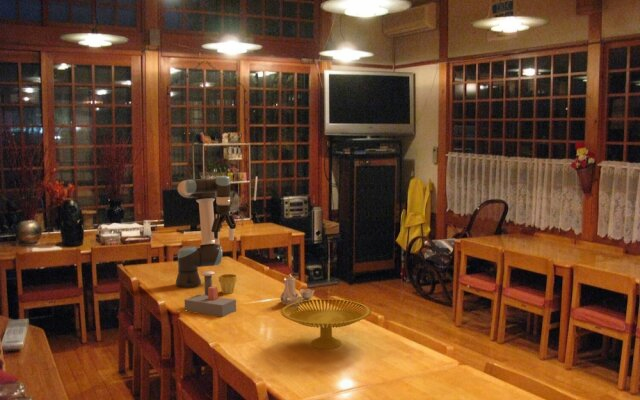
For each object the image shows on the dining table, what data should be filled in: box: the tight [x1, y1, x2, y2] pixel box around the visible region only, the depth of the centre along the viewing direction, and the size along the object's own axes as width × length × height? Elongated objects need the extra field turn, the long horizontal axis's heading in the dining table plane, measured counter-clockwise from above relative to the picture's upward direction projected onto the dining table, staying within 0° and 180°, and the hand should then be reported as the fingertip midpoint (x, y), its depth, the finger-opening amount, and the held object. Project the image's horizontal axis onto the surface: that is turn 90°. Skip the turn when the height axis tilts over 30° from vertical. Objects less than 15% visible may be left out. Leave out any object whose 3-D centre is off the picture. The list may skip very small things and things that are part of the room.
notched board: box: [184, 294, 237, 318], centre depth 341 cm, size 24×12×6 cm, turn 63°
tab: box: [208, 285, 219, 301], centre depth 343 cm, size 4×4×12 cm
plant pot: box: [218, 273, 238, 295], centre depth 379 cm, size 10×10×10 cm
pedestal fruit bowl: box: [279, 298, 372, 350], centre depth 289 cm, size 40×40×15 cm
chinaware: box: [279, 273, 315, 310], centre depth 354 cm, size 28×17×17 cm, turn 166°
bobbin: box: [201, 270, 216, 296], centre depth 356 cm, size 10×10×17 cm
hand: (224, 242), depth 364 cm, fingers open, 13 cm apart
